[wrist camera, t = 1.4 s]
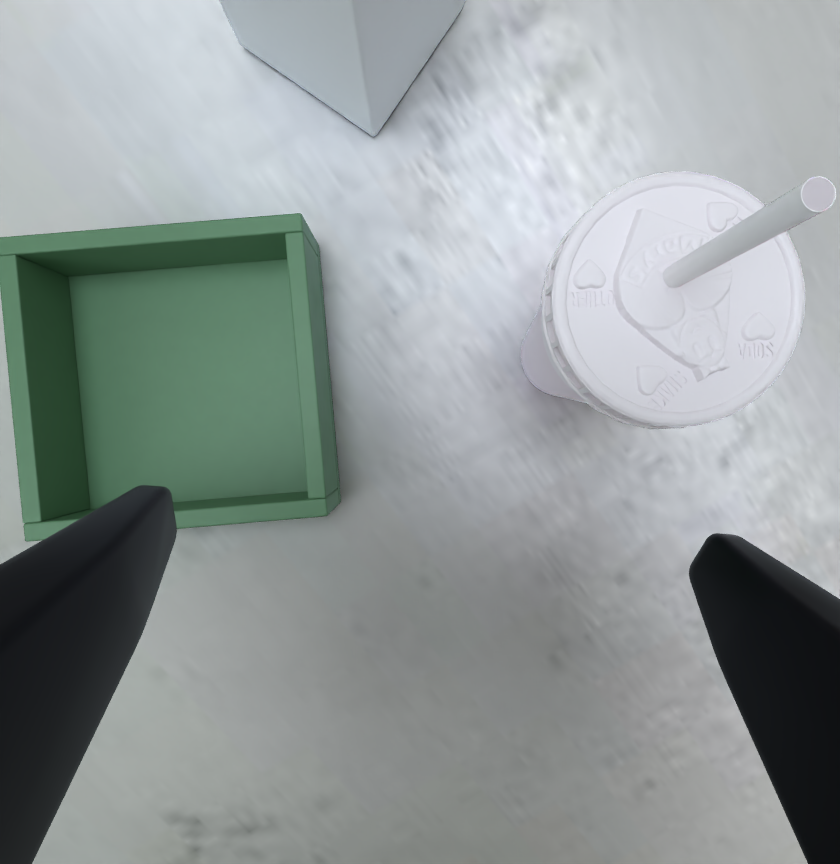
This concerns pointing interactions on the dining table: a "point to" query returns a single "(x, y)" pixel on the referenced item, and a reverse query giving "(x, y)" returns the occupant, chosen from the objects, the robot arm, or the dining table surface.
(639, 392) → the smoothie
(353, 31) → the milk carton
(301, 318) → the caddy
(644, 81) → the dining table surface
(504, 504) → the dining table surface
